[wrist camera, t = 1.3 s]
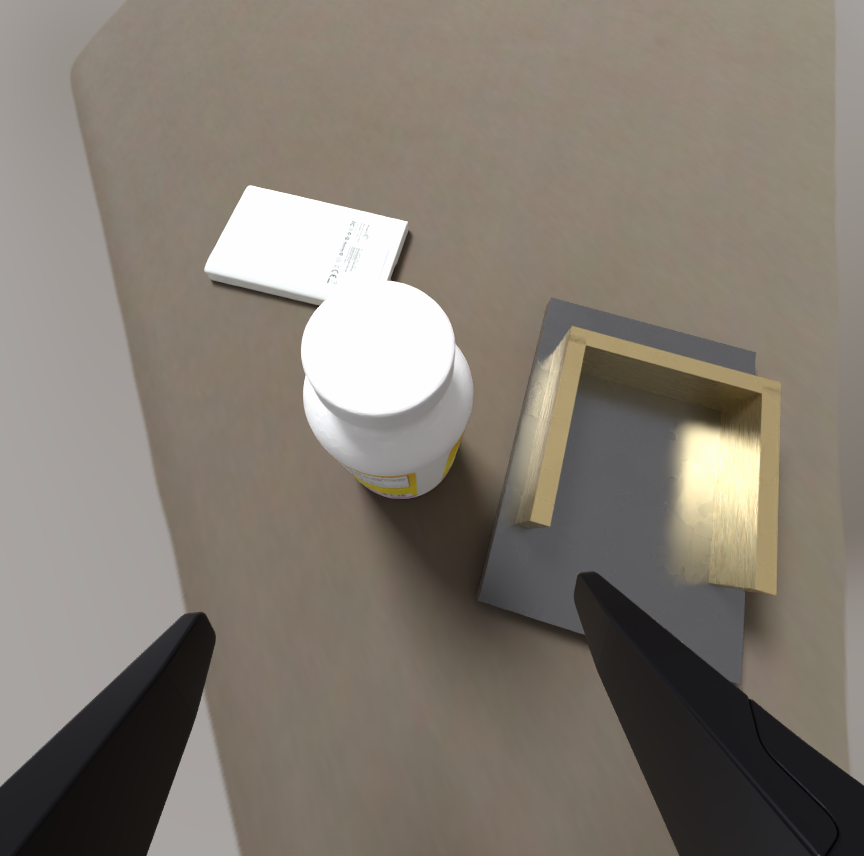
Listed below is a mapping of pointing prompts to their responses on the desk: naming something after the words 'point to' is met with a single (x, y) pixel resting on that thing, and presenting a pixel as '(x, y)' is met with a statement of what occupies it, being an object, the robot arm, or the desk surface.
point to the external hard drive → (303, 246)
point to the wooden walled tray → (640, 480)
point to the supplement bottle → (386, 386)
